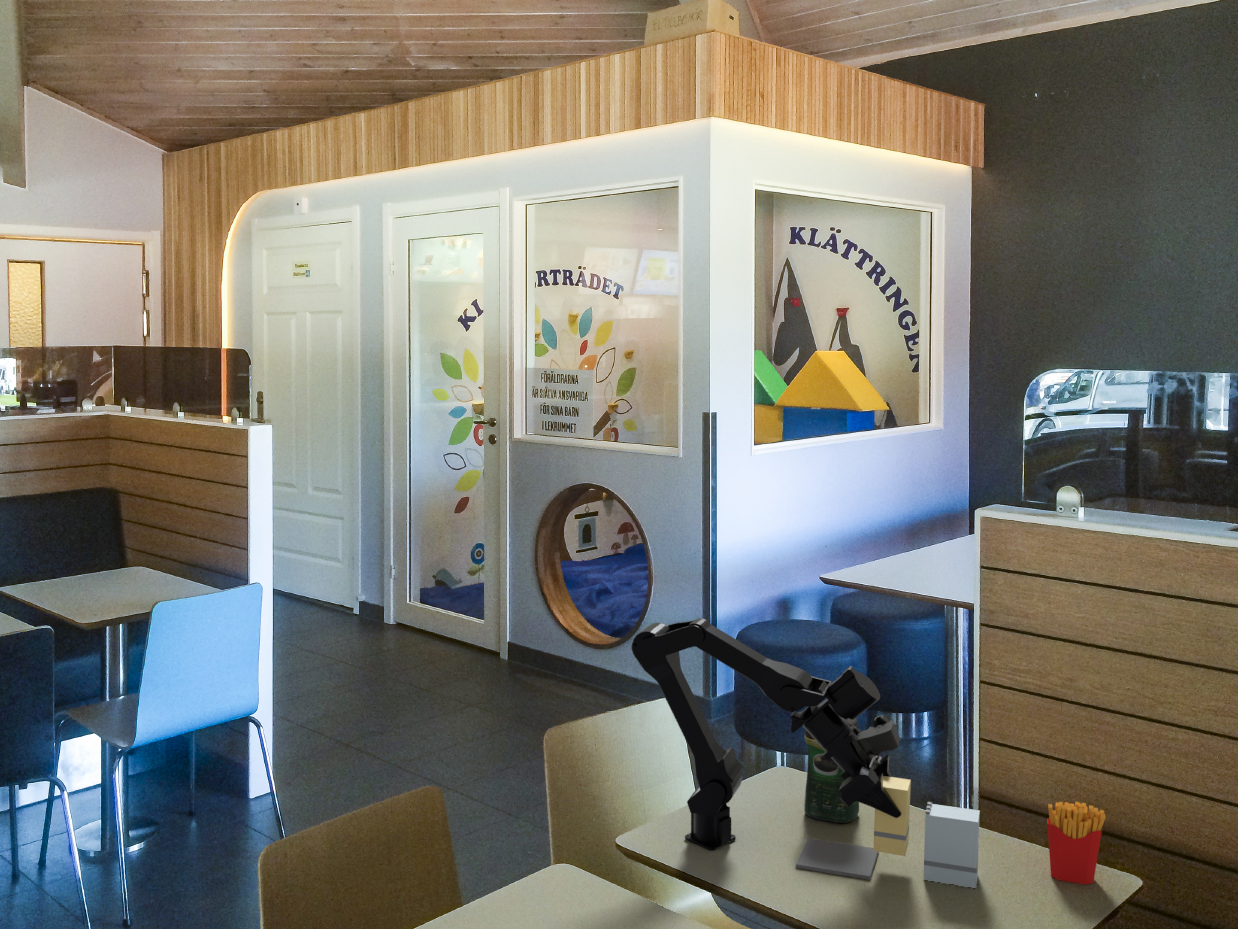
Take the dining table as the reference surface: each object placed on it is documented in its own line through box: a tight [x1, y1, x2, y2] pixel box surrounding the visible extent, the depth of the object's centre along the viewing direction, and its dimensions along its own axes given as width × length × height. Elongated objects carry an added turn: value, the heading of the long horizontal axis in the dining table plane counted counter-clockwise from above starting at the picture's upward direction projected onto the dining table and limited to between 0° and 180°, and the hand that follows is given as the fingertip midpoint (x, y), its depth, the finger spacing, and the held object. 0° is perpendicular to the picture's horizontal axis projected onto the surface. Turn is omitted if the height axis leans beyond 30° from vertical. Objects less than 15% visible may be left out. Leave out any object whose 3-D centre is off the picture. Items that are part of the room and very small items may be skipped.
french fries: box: [1046, 801, 1107, 885], centre depth 177 cm, size 8×4×12 cm, turn 69°
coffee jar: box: [803, 718, 860, 824], centre depth 200 cm, size 10×8×19 cm
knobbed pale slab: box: [923, 801, 981, 889], centre depth 177 cm, size 8×4×11 cm, turn 69°
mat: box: [795, 837, 879, 881], centre depth 184 cm, size 12×10×1 cm
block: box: [873, 776, 912, 857], centre depth 180 cm, size 5×4×11 cm
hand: (901, 810), depth 179 cm, fingers closed on block, 4 cm apart
